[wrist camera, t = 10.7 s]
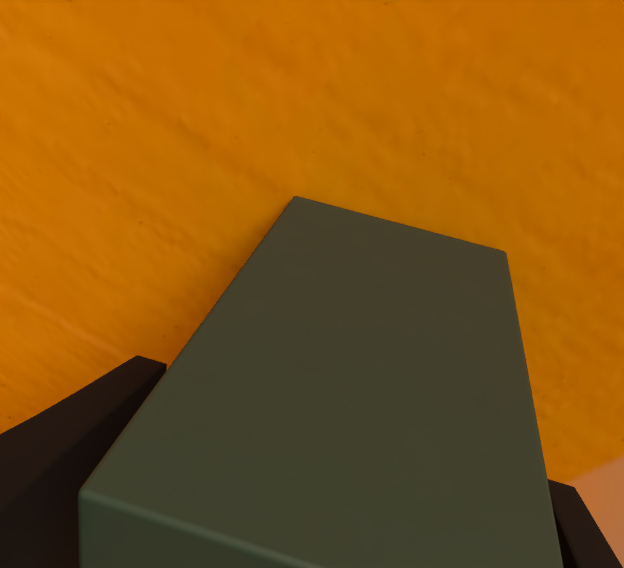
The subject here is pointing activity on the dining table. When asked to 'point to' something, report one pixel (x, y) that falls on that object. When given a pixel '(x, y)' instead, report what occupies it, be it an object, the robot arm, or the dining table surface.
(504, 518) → the carton
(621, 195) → the dining table surface
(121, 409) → the robot arm
